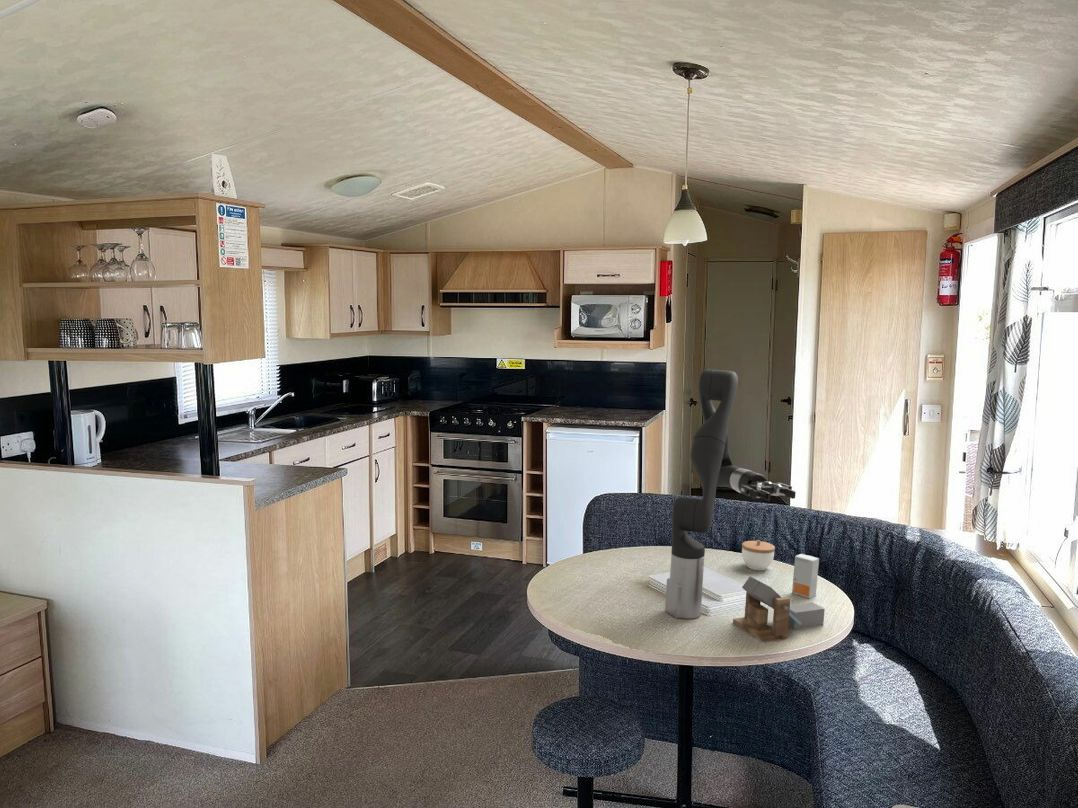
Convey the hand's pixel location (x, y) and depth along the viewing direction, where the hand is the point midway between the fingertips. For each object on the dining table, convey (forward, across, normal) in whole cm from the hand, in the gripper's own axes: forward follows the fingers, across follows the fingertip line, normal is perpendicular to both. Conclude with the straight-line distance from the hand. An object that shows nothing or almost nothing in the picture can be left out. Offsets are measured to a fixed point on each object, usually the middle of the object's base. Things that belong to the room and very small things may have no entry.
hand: (782, 496), depth 231 cm
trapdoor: (+11, -10, +28) cm, 32 cm away
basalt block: (+10, -3, +32) cm, 33 cm away
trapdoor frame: (+11, -13, +34) cm, 38 cm away
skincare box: (-9, +18, +35) cm, 40 cm away
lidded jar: (-35, +19, +35) cm, 53 cm away
